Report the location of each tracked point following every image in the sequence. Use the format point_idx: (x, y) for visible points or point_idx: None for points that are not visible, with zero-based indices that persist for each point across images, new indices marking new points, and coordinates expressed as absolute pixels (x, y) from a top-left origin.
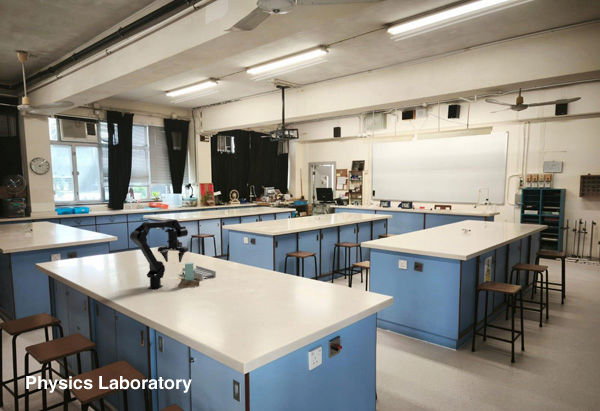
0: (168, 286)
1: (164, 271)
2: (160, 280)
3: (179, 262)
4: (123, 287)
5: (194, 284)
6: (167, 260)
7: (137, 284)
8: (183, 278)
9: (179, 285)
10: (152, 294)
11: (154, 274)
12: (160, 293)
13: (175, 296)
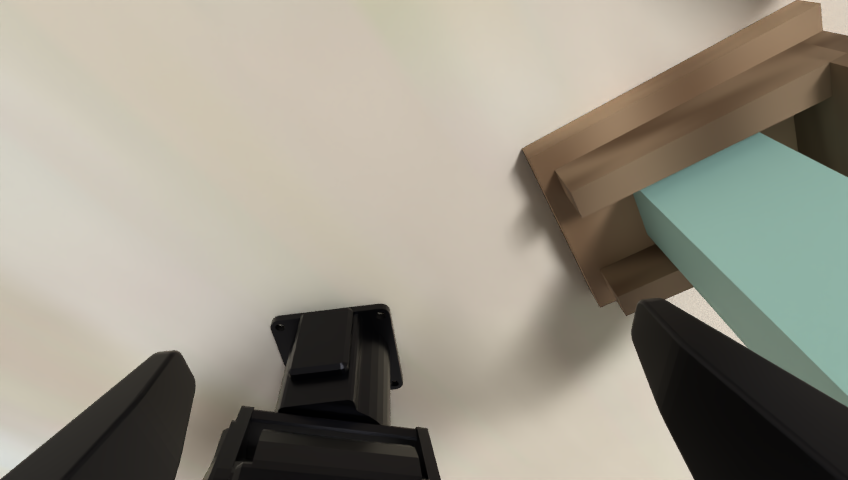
0: (452, 290)
1: (418, 459)
2: (350, 350)
3: (635, 340)
4: (40, 422)
5: None
6: (165, 395)
7: (50, 327)
8: (608, 187)
9: (602, 299)
10: (456, 462)
11: (248, 425)
12: (504, 436)
13: (656, 447)
